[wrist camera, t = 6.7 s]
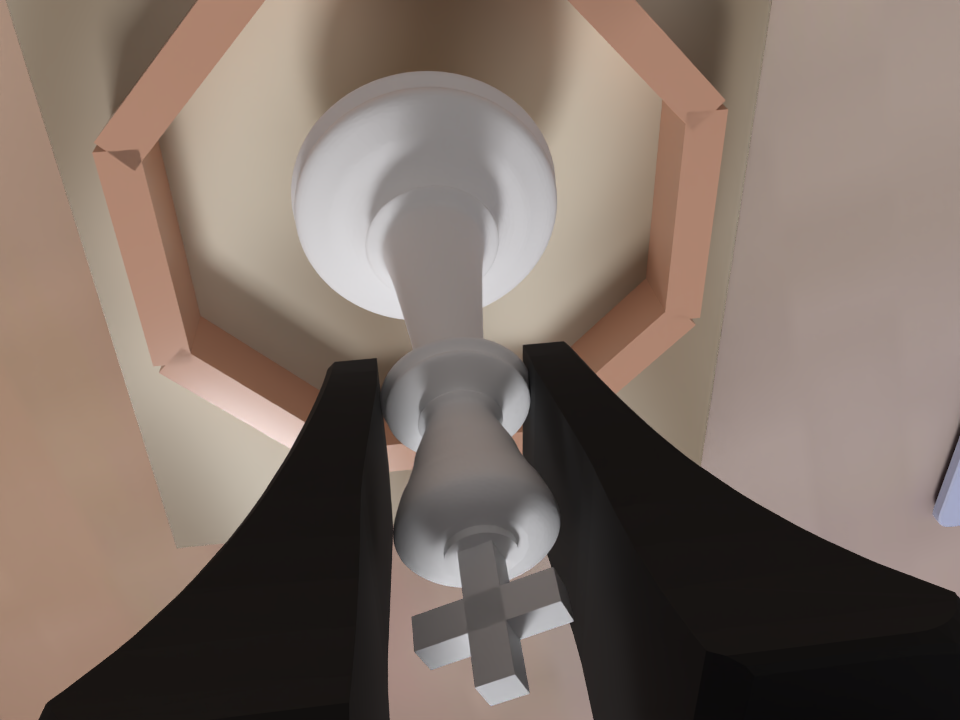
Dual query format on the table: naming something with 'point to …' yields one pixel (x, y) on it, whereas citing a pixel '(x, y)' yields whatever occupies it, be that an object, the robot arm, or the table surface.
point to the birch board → (271, 225)
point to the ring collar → (284, 396)
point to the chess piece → (447, 340)
